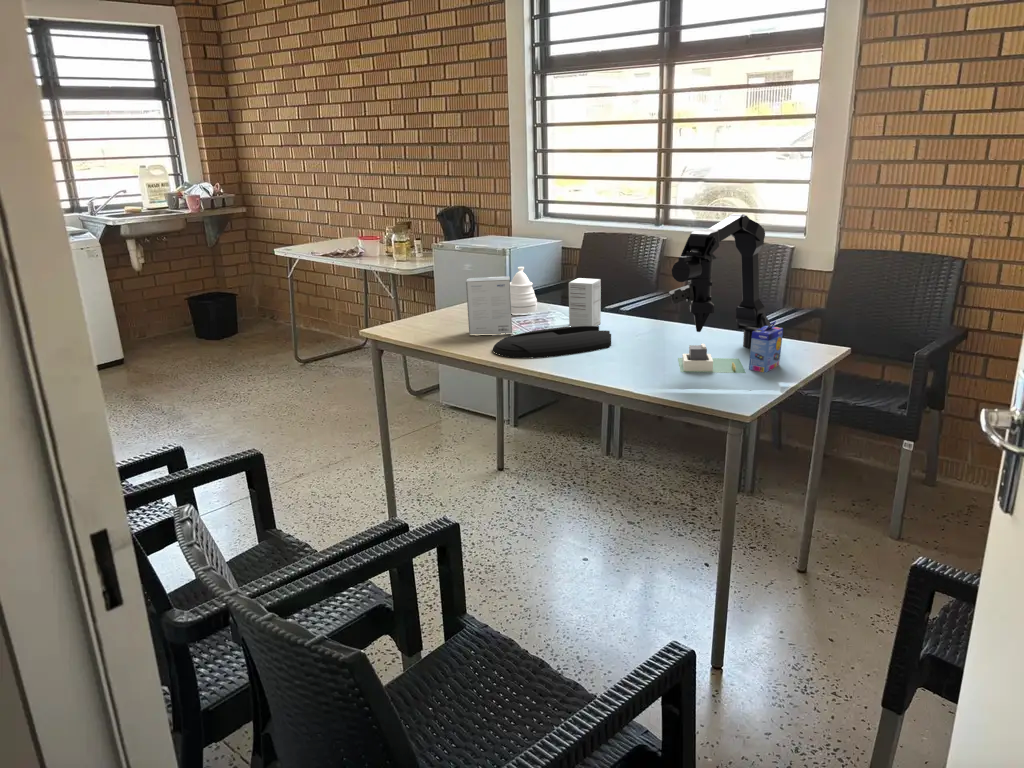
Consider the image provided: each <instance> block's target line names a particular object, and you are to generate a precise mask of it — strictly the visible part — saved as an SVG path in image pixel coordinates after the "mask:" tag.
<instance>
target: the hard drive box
mask: <svg viewBox="0 0 1024 768" xmlns="http://www.w3.org/2000/svg"><path fill="white" fill-rule="evenodd" d="M510 278H511V277H510V276H508V275H507V276H488V277H487V276H486V277H484V276H483V277H469V278H467V279H466V280H465V289H466V291H465V292H466V304H467V307H466V308H467V319H468V321H467V322H468V333H469V334H501V333H505V334H506V333H512V334H513V321H512V319H513V318H512V315H511V293H510V282H511V279H510ZM469 334H468V335H469Z"/></svg>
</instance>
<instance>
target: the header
mask: <svg viewBox="0 0 1024 768" xmlns="http://www.w3.org/2000/svg"><path fill="white" fill-rule="evenodd" d="M681 358H682V364H683V369H684V371H713V359H712V358H713V357H712V354H711V353H707V359H706V360H689V353H682V357H681Z"/></svg>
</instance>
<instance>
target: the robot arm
mask: <svg viewBox="0 0 1024 768" xmlns="http://www.w3.org/2000/svg"><path fill="white" fill-rule="evenodd" d="M730 236H732V237H733V238H734V244H735V245H734V246H735V248H736V249H737V251H738V252H739V254H740V256H741V257H740V261H741V293H742V294H741V296H742V297H741V298H742V300H741V302H740V303H739V305H738V306H737V307H736V309H735V315H736V316H735V320H736V327H737V330H740V331H741V330H742V331H743V336H742V337H743V340H742V347H743V348H747V349H749V350H750V349H751V339H752V332H753V331H755V330H757V329H760V328H762V327H764V326H769V325H770V323H771V322H770V320H769V318H768V316H767V315H766V307H765V306H764V304H763V302H762V300H761V299H760V283H759V282H760V281H759V278H760V277H759V253H760V251H761V249H762V248H763V245H764V243H765V238H766V231H765V228H764V227H763V226H762V225H761V224H760V223H758V222H756V221H754V220H753V219H750V217H749V216H748V215H746V214H743V213H742V214H741V213H732V214H729V215H728V216H727V217H726V218H724V219H723V220H721V221H719V222H718V223H716V224H714V225H712V226H711V227H709V228H705V229H698V230H694V231H692V232H690V234H689V236H688V238H687V240H686V242H685V244H684V247H683V249H682V252H681V254H680V256H678V261H677V262H675V263H674V264H673V266H672V268H671V275H672V277H673V279H674V280H675V281H676V282H678V283H684V282H688V284H687V285H684V286H681V287H677V288H675V289H672V290H670V291H668V292H669V296H670V299H671V302H672V304H673V305H677V304H679V303H680V302H683V301H685V300H686V303H689V305H687V306H688V310H689V312H690V313H691V314H693V318H694V319H693V320H694V324H695V325H694V326H695V331H696V332H697V333H700V332H701V331H702V330H703V328H704V325H705V324H706V322H707V319H708V317H709V316H710V315H711V314H714V313H715V304H714V303H713V302H712V295H711V294H712V286H713V282H712V274H713V261H714V260H716V259H717V256H716V255H714V252H716V250H717V249H718V248H720V243H721V242H723V240H725V239H727V238H729V237H730Z"/></svg>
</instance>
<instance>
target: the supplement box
mask: <svg viewBox="0 0 1024 768" xmlns="http://www.w3.org/2000/svg"><path fill="white" fill-rule="evenodd" d="M601 281H602V280H601V278H587V277H586V278H585V277H583V278H582V277H578V278H576V279H574V280H571V281H569V282H568V322H569V323H568V327H569V326H571V327H573V326H599V325H600V324H601V317H602V316H601V315H602V314H601V313H602V312H601V309H602V307H601V306H602V304H601V302H602V299H601V296H602V295H601V292H602V291H601V289H602V288H601V287H602V286H601V285H602V284H601Z"/></svg>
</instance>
